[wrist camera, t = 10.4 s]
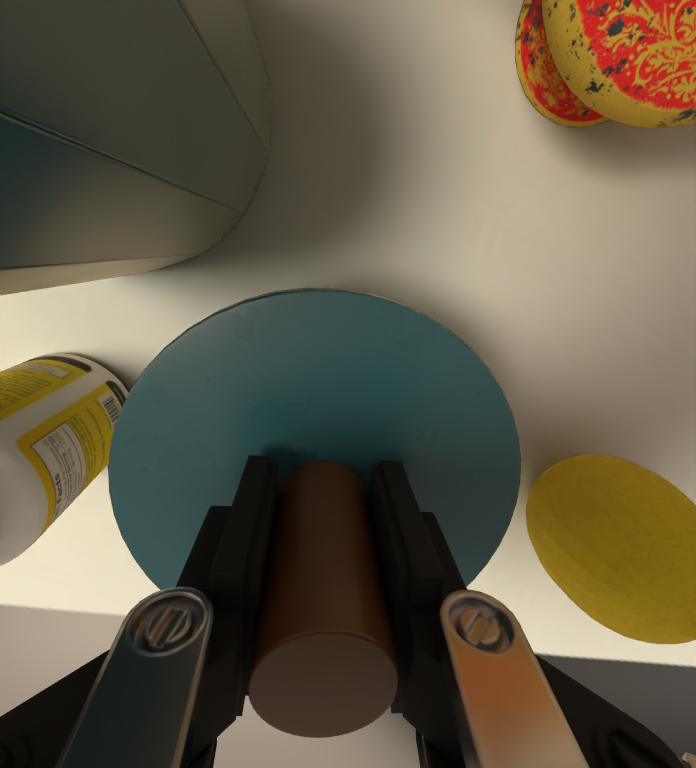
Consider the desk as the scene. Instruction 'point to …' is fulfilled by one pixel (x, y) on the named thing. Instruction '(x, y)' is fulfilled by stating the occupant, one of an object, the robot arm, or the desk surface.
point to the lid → (315, 476)
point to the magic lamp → (609, 60)
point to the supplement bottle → (51, 441)
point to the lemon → (618, 545)
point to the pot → (124, 134)
